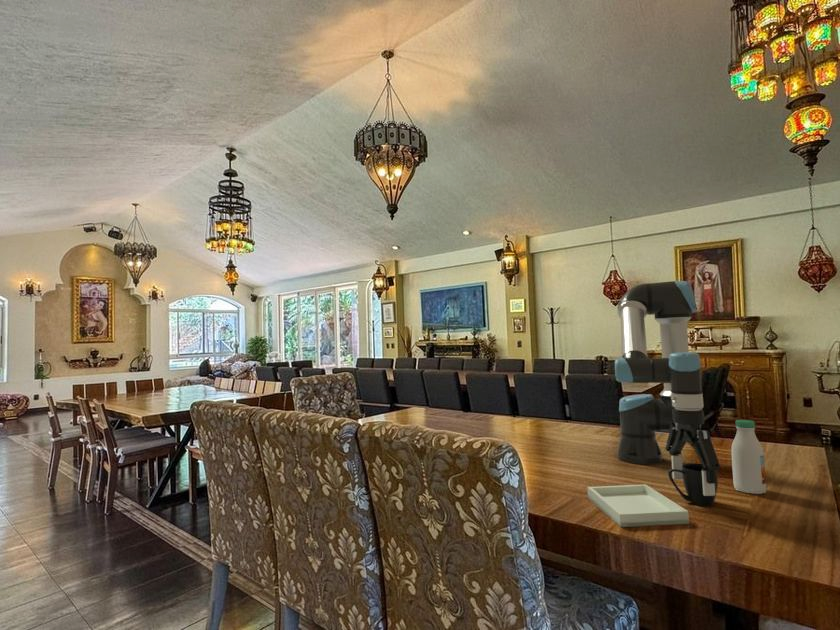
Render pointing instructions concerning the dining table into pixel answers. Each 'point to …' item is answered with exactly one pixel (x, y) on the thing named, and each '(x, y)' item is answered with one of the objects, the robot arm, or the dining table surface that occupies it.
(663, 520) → the tray
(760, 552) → the dining table surface
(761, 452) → the milk bottle
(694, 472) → the mug
